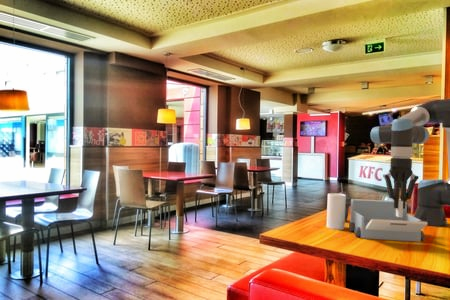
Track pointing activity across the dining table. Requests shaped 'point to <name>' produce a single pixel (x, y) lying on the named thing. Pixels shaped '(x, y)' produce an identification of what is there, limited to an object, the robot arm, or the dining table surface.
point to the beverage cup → (346, 202)
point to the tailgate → (395, 225)
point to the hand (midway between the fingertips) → (399, 216)
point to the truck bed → (379, 210)
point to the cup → (336, 211)
